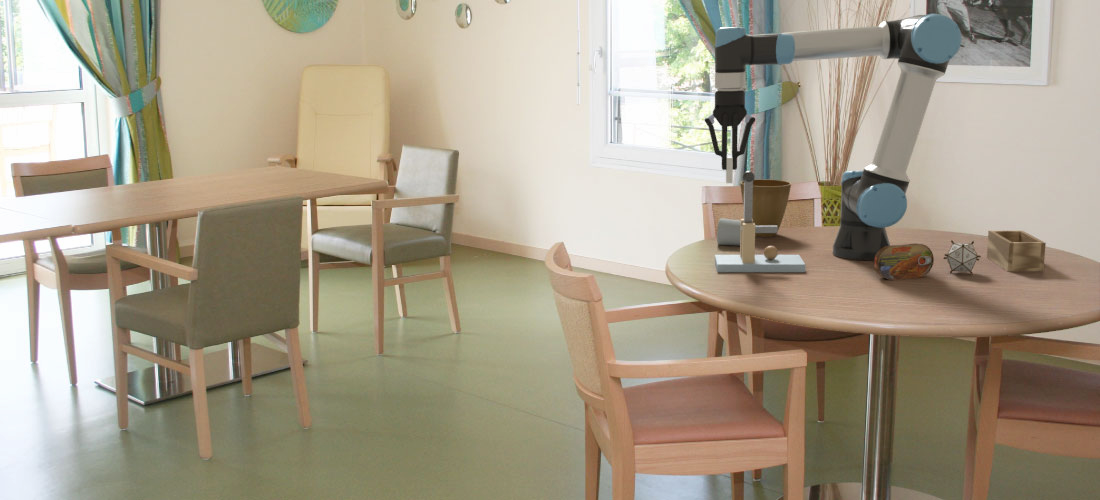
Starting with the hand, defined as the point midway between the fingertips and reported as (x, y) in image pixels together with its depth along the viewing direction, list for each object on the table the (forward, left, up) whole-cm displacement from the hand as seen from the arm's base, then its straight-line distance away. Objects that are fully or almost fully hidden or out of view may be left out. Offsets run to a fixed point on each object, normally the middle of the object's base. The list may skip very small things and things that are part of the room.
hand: (729, 182), depth 264 cm
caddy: (-73, -3, -22) cm, 76 cm away
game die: (-57, +7, -23) cm, 62 cm away
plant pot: (-14, -44, -22) cm, 52 cm away
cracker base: (-8, 0, -22) cm, 24 cm away
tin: (-42, +12, -23) cm, 49 cm away
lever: (-8, 0, -14) cm, 16 cm away
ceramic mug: (-3, -31, -23) cm, 38 cm away
